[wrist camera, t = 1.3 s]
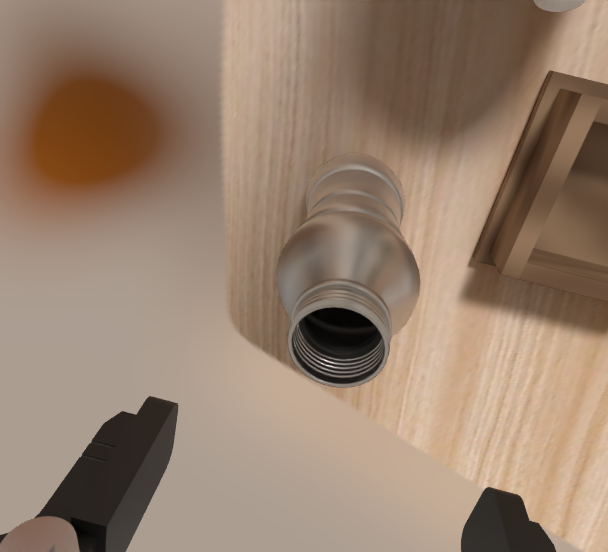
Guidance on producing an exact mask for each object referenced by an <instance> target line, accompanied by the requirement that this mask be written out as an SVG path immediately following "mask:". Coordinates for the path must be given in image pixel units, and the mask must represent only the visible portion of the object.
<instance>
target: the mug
mask: <svg viewBox="0 0 608 552" xmlns="http://www.w3.org/2000/svg"><path fill="white" fill-rule="evenodd" d="M585 1H586V0H534V3H535V4H536V6H537V7H539V8H540V9H543V10H546V11H551V12H565V11H569V10H572V9H575V8H577V7H579V6H580V5H582V4H583V3H584V2H585Z"/></svg>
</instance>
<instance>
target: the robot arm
mask: <svg viewBox="0 0 608 552" xmlns="http://www.w3.org/2000/svg"><path fill="white" fill-rule="evenodd" d="M177 414H178V403H174V402H170V401H167V400H162V399H158V398H155V397H151V396H150V397H148V398H147V399H146V401H145V402H144V404H143V405H142V407H141V408H140V410H139V411H138V413H137V415H135V414H131V413H127V412H124V411H122V412H120V413H119V414H117V415H116V416H114V417H113V418H111V419H110V420H108V421H107V422H105V423H104V424H103V425H102V427H101V428H100V430H99V431H98V432H97V434H96V435H95V437H94V438H93V439H92V442H91V443H90V444H89V445H88V446H87V448H86V449H85V451H84V452H83V454H82V456H81V457H80V458H79V459H78V460H77V462H76V463H75V465H74V466H73V467H72V469H71V470H70V472H69V473H68V475H67V476H66V477H65V479H64V480H63V481H62V483H61V484H60V486H59V487H58V488H57V490H56V491H55V493H54V494H53V496H52V497H51V498H50V500H49V501H48V503H47V504H46V505H45V507H44V508H43V509H42V511H41V512H40V513H39V514H38V515H37V516H36V517H35V518H34V519H31V520H28V521H26V522H24V523H22V524H20V525H19V526H17V527H15V528H14V529H13V530H12V531H10V532H9V533H6V534H3V535H0V552H126V550H127V548H128V546H129V544H130V542H131V540H132V537H133V535H134V533H135V531H136V529H137V527H138V525H139V523H140V521H141V519H142V517H143V515H144V513H145V511H146V509H147V507H148V505H149V503H150V501H151V499H152V497H153V495H154V493H155V491H156V489H157V487H158V485H159V483H160V480H161V478H162V476H163V474H164V472H165V470H166V468H167V465H168V463H169V460H170V457H171V453H172V449H173V444H174V436H175V429H176V421H177ZM461 552H556V550H555V547H554V544H553V543H552V542H551V540H550V539H549V537H548V536H547V534H546V533H545V532H544V530H543V529H542V527H541V526H540V524H539V523H536V522H532V521H529V518H528V515H527V512H526V509H525V506H524V502H523V500H522V498H521V497H520V496H519V495H517V494H513V493H509V492H506V491H502V490H498V489H494V488H490V487H487V488H486V489H485V490H484V491H483V493H482V495H481V497H480V498H479V500H478V502H477V504H476V506H475V507H474V509H473V511H472V513H471V515H470V517H469V518H468V520H467V522H466V524H465V526H464V529H463V533H462V539H461Z"/></svg>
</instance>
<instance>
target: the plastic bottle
mask: <svg viewBox="0 0 608 552" xmlns="http://www.w3.org/2000/svg"><path fill="white" fill-rule="evenodd" d="M306 211H307V218H306V220H305V222H304V223H303V224H302V225H301V226H300V227H299V228H298V229H297V230H296V231H295V232H294V233H293V235H292V236H291V237H290V239H289V240H288V242H287V243H286V245H285V247H284V248H283V250H282V253H281V255H280V257H279V260H278V265H277V270H276V277H277V287H278V291H279V295H280V299H281V303H282V305H283V307H284V309H285V312H286V314H287V315H288V317H289V318H290V327H289V331H288V349H289V353H290V356H291V358H292V360H293V362H294V363H295V365H296V366H297V367H298V368H299V370H300V371H302V372H303V373H304V374H305V375H306V376H308V377H309V378H311V379H312V380H314V381H316V382H318V383H321V384H323V385H327V386H331V387H339V388H346V387H354V386H359V385H362V384H364V383H366V382H369V381H370V380H372V379H373V378H375V377H376V376H377V375H378V374H379V373H380V372H381V371H382V369H383V368H384V366H385V364H386V361H387V358H388V355H389V349H390V340H391V337H393V336H394V335H396V334H397V333H398V332H399V331H400V330H401V329H402V328H403V327H404V326H405V324H406V323H407V321H408V320H409V318H410V316H411V315H412V313H413V310H414V308H415V306H416V303H417V300H418V297H419V292H420V275H419V269H418V266H417V264H416V261H415V258H414V255H413V253H412V250H411V248H410V247H409V245H408V244H407V242H406V240H405V239H404V237H403V236H402V234H401V231H400V226H401V223H402V220H403V216H404V212H405V195H404V190H403V188H402V185H401V183H400V181H399V179H398V178H397V176H396V175H395V173H394V172H393V171H392V170H391V169H390V168H389V167H388V166H386V165H385V164H384V163H382V162H381V161H380V160H378V159H376V158H374V157H371V156H368V155H364V154H346V155H342V156H339V157H336V158H334V159H332V160H330V161H329V162H327V163H325V164H324V165H323V166H322V167H320V168H319V169H318V170H317V171H316V173H315V174H314V176H313V177H312V179H311V181H310V183H309V186H308V189H307V194H306Z"/></svg>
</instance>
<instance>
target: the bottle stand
mask: <svg viewBox="0 0 608 552" xmlns="http://www.w3.org/2000/svg"><path fill="white" fill-rule="evenodd" d="M473 258H474V260H475V261H477V262H481V263H485V264H489V265H493V266H497V268H498V270H499V272H500V274H501V275H505V276H509V277H513V278H517V279H521V280H525V281H529V282H532V283H536V284H540V285H544V286H548V287H552V288H556V289H560V290H564V291H568V292H572V293H576V294H579V295H583V296H587V297H591V298H595V299H599V300H603V301H607V302H608V85H607V84H603V83H599V82H595V81H591V80H587V79H583V78H579V77H575V76H571V75H567V74H563V73H558V72H554V71H549V73H548V76H547V78H546V81H545V83H544V85H543V88H542V90H541V93H540V95H539V97H538V100H537V102H536V105H535V107H534V110H533V112H532V114H531V117H530V119H529V122H528V124H527V127H526V129H525V131H524V134H523V136H522V139H521V141H520V143H519V146H518V148H517V151H516V153H515V156H514V158H513V160H512V163H511V165H510V168H509V170H508V173H507V175H506V177H505V180H504V182H503V185H502V187H501V190H500V192H499V194H498V197H497V199H496V202H495V204H494V206H493V209H492V211H491V214H490V216H489V219H488V221H487V223H486V226H485V228H484V231H483V233H482V236H481V238H480V240H479V243H478V245H477V248H476V250H475V253H474V255H473Z"/></svg>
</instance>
